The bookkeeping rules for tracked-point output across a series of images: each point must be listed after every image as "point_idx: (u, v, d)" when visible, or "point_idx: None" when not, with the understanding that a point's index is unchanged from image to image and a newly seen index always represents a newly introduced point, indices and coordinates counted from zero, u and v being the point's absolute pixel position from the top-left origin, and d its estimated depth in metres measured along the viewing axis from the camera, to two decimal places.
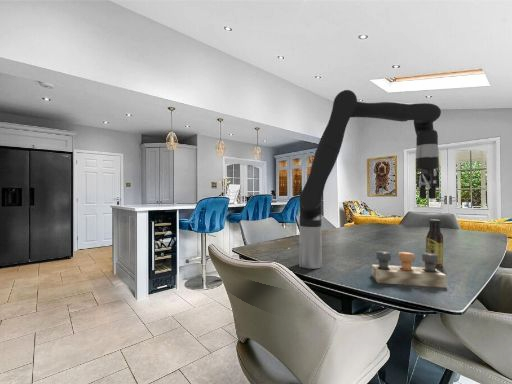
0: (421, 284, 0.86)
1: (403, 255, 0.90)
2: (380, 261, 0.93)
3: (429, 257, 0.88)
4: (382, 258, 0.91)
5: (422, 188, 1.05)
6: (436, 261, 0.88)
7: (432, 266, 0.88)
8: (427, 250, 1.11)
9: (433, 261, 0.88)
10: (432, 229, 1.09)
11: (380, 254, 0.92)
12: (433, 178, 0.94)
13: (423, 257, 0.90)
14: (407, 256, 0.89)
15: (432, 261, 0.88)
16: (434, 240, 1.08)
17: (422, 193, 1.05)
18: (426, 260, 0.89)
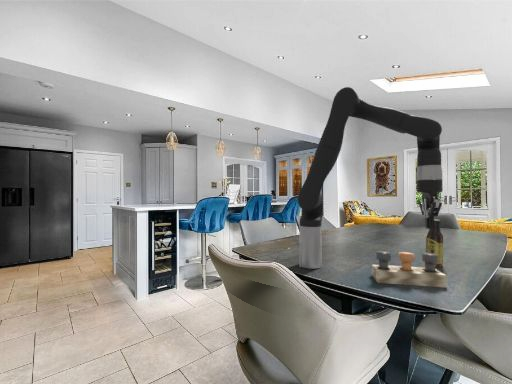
0: (421, 284, 0.86)
1: (403, 255, 0.90)
2: (380, 261, 0.93)
3: (429, 257, 0.88)
4: (382, 258, 0.91)
5: None
6: (436, 261, 0.88)
7: (432, 266, 0.88)
8: (427, 250, 1.11)
9: (433, 261, 0.88)
10: (432, 229, 1.09)
11: (380, 254, 0.92)
12: (433, 210, 0.86)
13: (423, 257, 0.90)
14: (407, 256, 0.89)
15: (432, 261, 0.88)
16: (434, 240, 1.08)
17: None
18: (426, 260, 0.89)
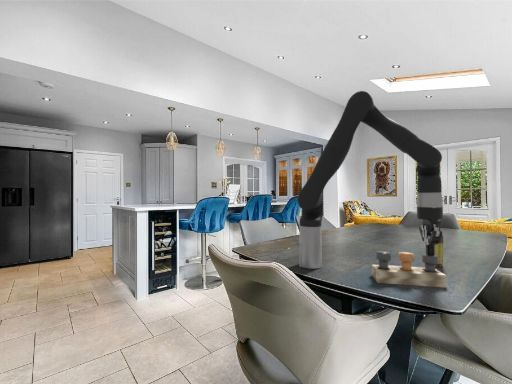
0: (421, 284, 0.86)
1: (403, 255, 0.90)
2: (380, 261, 0.93)
3: (429, 259, 0.88)
4: (382, 258, 0.91)
5: None
6: (436, 262, 0.88)
7: (432, 267, 0.88)
8: None
9: (433, 262, 0.88)
10: None
11: (380, 254, 0.92)
12: (433, 239, 0.86)
13: (423, 258, 0.90)
14: (407, 256, 0.89)
15: (432, 262, 0.88)
16: None
17: None
18: (426, 261, 0.89)
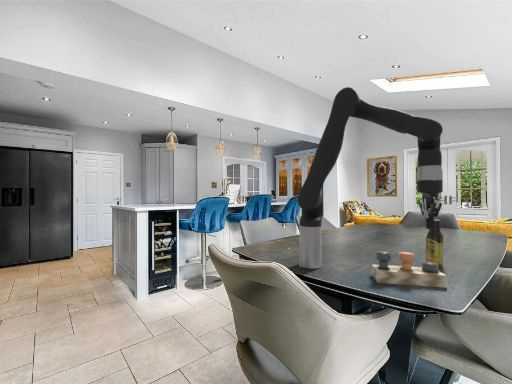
0: (421, 284, 0.86)
1: (403, 255, 0.90)
2: (380, 261, 0.93)
3: (429, 267, 0.88)
4: (382, 258, 0.91)
5: None
6: (436, 270, 0.88)
7: None
8: (427, 250, 1.11)
9: (433, 270, 0.88)
10: (432, 229, 1.09)
11: (380, 254, 0.92)
12: (433, 211, 0.86)
13: (423, 266, 0.90)
14: (407, 256, 0.89)
15: (432, 270, 0.88)
16: (434, 240, 1.08)
17: None
18: (426, 269, 0.89)
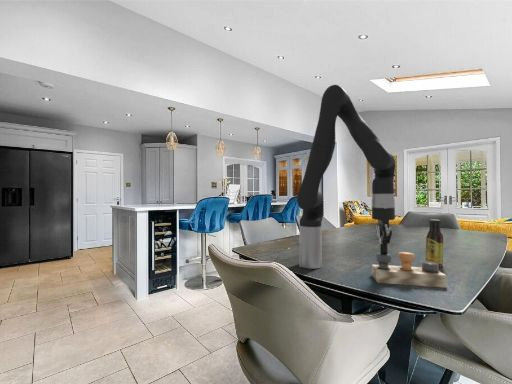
0: (421, 284, 0.86)
1: (403, 255, 0.90)
2: (380, 263, 0.93)
3: (429, 267, 0.88)
4: (382, 260, 0.91)
5: None
6: (436, 270, 0.88)
7: None
8: (427, 250, 1.11)
9: (433, 270, 0.88)
10: (432, 229, 1.09)
11: (380, 256, 0.92)
12: (384, 238, 0.89)
13: (423, 266, 0.90)
14: (407, 256, 0.89)
15: (432, 270, 0.88)
16: (434, 240, 1.08)
17: None
18: (426, 269, 0.89)
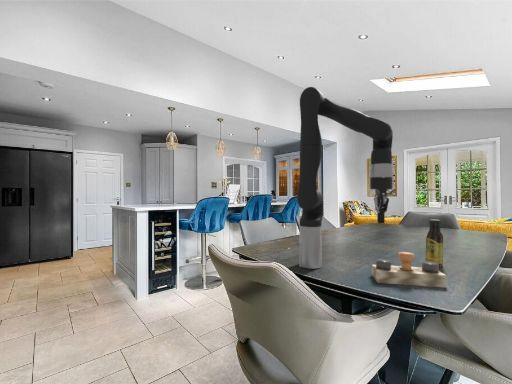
0: (421, 284, 0.86)
1: (403, 255, 0.90)
2: None
3: (429, 267, 0.88)
4: (382, 267, 0.91)
5: None
6: (436, 270, 0.88)
7: None
8: (427, 250, 1.11)
9: (433, 270, 0.88)
10: (432, 229, 1.09)
11: (380, 263, 0.92)
12: (382, 206, 0.92)
13: (423, 266, 0.90)
14: (407, 256, 0.89)
15: (432, 270, 0.88)
16: (434, 240, 1.08)
17: None
18: (426, 269, 0.89)
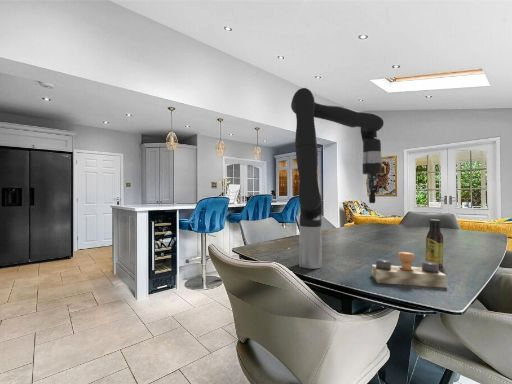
0: (421, 284, 0.86)
1: (403, 255, 0.90)
2: None
3: (429, 267, 0.88)
4: (382, 267, 0.91)
5: None
6: (436, 270, 0.88)
7: None
8: (427, 250, 1.11)
9: (433, 270, 0.88)
10: (432, 229, 1.09)
11: (380, 263, 0.92)
12: (372, 187, 1.07)
13: (423, 266, 0.90)
14: (407, 256, 0.89)
15: (432, 270, 0.88)
16: (434, 240, 1.08)
17: None
18: (426, 269, 0.89)
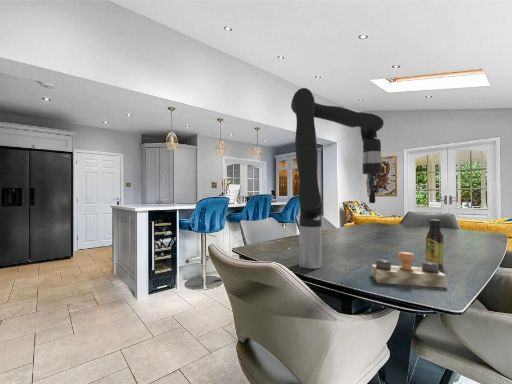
0: (421, 284, 0.86)
1: (403, 255, 0.90)
2: None
3: (429, 267, 0.88)
4: (382, 267, 0.91)
5: None
6: (436, 270, 0.88)
7: None
8: (427, 250, 1.11)
9: (433, 270, 0.88)
10: (432, 229, 1.09)
11: (380, 263, 0.92)
12: (372, 187, 1.07)
13: (423, 266, 0.90)
14: (407, 256, 0.89)
15: (432, 270, 0.88)
16: (434, 240, 1.08)
17: None
18: (426, 269, 0.89)
